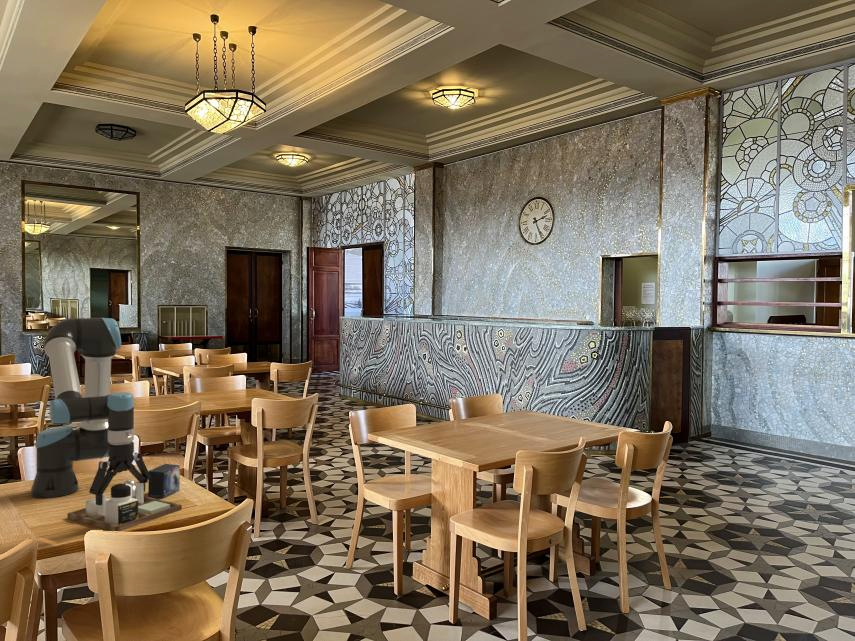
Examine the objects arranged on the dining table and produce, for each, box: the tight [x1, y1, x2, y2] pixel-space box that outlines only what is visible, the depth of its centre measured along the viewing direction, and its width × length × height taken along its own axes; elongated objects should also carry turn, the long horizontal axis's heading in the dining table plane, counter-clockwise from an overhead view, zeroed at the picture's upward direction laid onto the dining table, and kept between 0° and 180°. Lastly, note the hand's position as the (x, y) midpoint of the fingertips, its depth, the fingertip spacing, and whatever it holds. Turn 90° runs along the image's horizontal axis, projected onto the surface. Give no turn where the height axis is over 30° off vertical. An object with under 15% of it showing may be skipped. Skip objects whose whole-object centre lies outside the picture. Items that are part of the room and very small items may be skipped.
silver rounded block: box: [85, 497, 111, 519], centre depth 214 cm, size 7×7×5 cm
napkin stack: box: [138, 501, 170, 515], centre depth 219 cm, size 8×8×2 cm
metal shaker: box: [123, 479, 136, 499], centre depth 224 cm, size 4×4×9 cm
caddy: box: [67, 495, 183, 532], centre depth 217 cm, size 24×24×2 cm
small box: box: [147, 463, 181, 500], centre depth 238 cm, size 11×6×10 cm, turn 168°
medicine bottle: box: [105, 482, 138, 526], centre depth 208 cm, size 7×7×12 cm
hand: (121, 508), depth 208 cm, fingers open, 13 cm apart
